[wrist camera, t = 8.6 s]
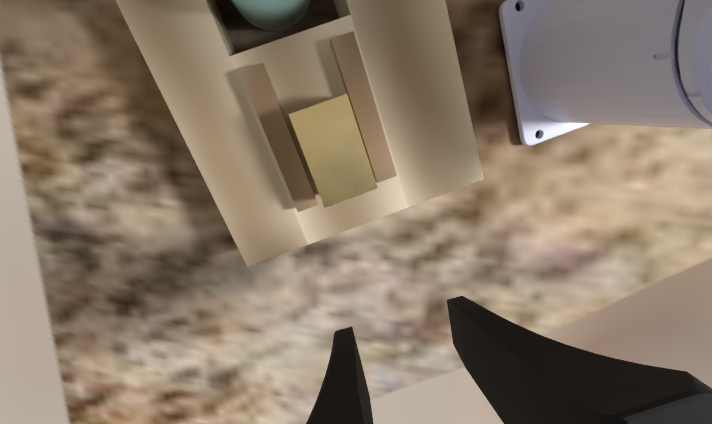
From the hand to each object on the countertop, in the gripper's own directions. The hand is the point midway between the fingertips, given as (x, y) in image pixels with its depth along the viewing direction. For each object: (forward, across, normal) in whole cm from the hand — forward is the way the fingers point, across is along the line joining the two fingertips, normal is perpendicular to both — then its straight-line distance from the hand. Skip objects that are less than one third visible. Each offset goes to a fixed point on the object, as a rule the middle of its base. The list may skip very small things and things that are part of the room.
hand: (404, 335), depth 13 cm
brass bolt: (+6, +1, -7) cm, 9 cm away
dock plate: (+9, +1, -11) cm, 14 cm away
